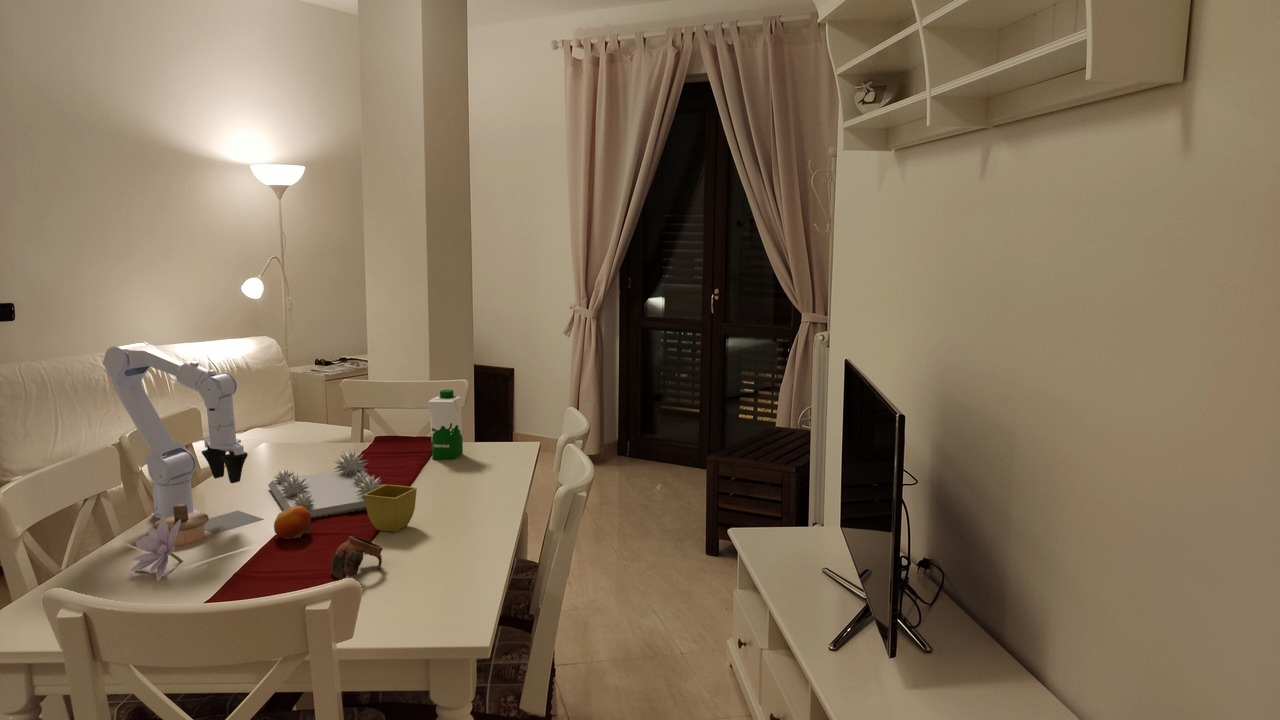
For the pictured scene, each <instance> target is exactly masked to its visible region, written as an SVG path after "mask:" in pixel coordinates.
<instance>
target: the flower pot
mask: <svg viewBox="0 0 1280 720" xmlns="http://www.w3.org/2000/svg"><path fill="white" fill-rule="evenodd" d="M364 498H365V503H366V508H367V510H366V512H367V516H368V518H369V521H370V523H371V524H372V525H373V526H374V527H375V529H376V530H378V531H384V532H392V533H396V532H398V531H399V530H401V529H403V528H405V527H407V526H408V525H409V523H410V522H411V519H412V518H413V515H414V512H415V508H416V501H417V500H416V499H417V487H415V486H407V485H406V486H405V485H394V484H385V485H383V486H381V487H379V488H377V489H375V490H373V491H371V492H368V493H366V494H365V495H364Z"/></svg>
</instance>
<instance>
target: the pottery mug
mask: <svg viewBox="0 0 1280 720" xmlns="http://www.w3.org/2000/svg"><path fill="white" fill-rule="evenodd" d="M383 550H384V549H383V547H381V545H378V544H377V543H374V542H372V541H370V540H367V539H365V538H364V539H363V538H362V537H358V536H353V535H350V536H349V537H348V539H347V540H346V541H344V542H343V543H341V544H340V545H339V546H338V548H337V549H336V551H335V552H334V555H333V558H332V559H333V560H332V562H331V569H330V574H331V576H333V577H335V578H336V579H339V580H341V579H342V580H343V578H344V574H345V575H346V576H348V577H354V576H357V575H358V571H359V568H360V566H361V565H362V562H363V560H364V555H369V556H373V557H375V558H377V560H378V565H377V569H378V570H380V569H381V567H382V564H383V563H382V562H383V558H382V554H381V553H382V551H383Z"/></svg>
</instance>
